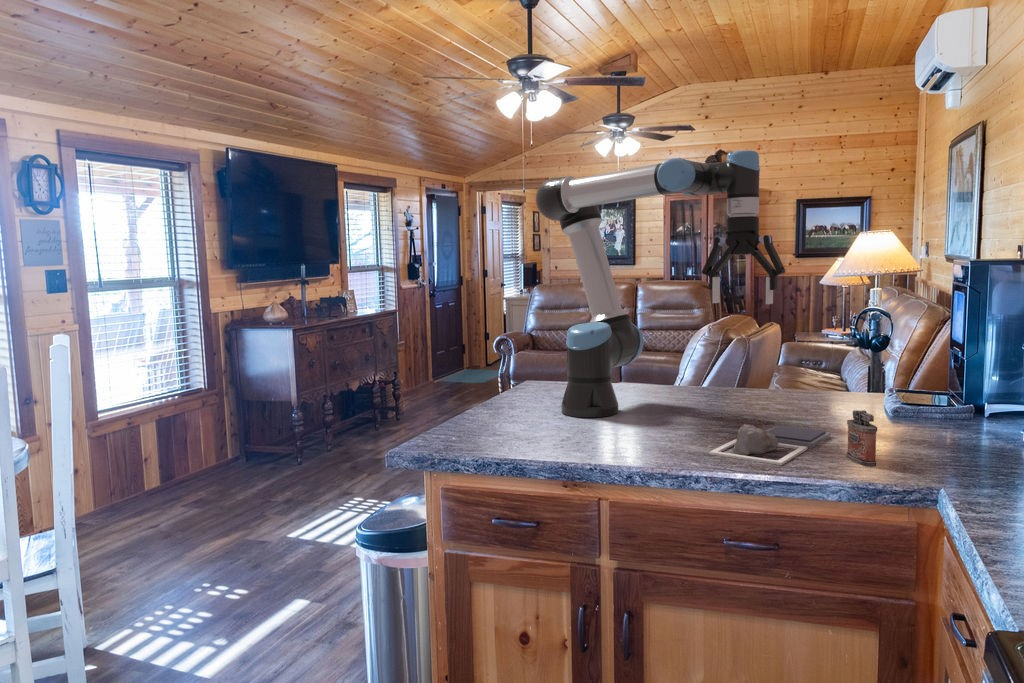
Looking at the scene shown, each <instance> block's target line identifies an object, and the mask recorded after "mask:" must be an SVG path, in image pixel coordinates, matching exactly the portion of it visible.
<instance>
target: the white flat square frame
mask: <svg viewBox="0 0 1024 683" xmlns="http://www.w3.org/2000/svg"><path fill="white" fill-rule="evenodd" d="M736 441H737V438H735V439H733V440H731V441H729V442H727V443H724V444H723V445H720V446H718V447H715V448H714V449H712V450H711V451H709V452H708V454H709V455H712V456H718V457H725V458H731V459H738V460H745V461H751V462H756V463H757V462H758V463H762V464H769V465H777V466H782V465H784V464H786V463H788V462H789V461H790V460H793V459H794V458H796V457H797V456H799V455H800V454H802V453H804V452H805V451H807V450H808V449H809V448H808V447H805V446H797V445H790V444H782V443H778V445H777V446H776V448H777V447H778V448H785V449H792V450H793V451H791V452H789V453H787V454H786V455H785V456H783V457H780V458H779V459H778V460H777V459H776V460H775V459H771V458H763V457H756V456H749V455H742V454H738V455H737V454H734V453H729V452H724V451H726V450H729V449H730V448H732V447H733V446H735V443H736Z"/></svg>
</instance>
